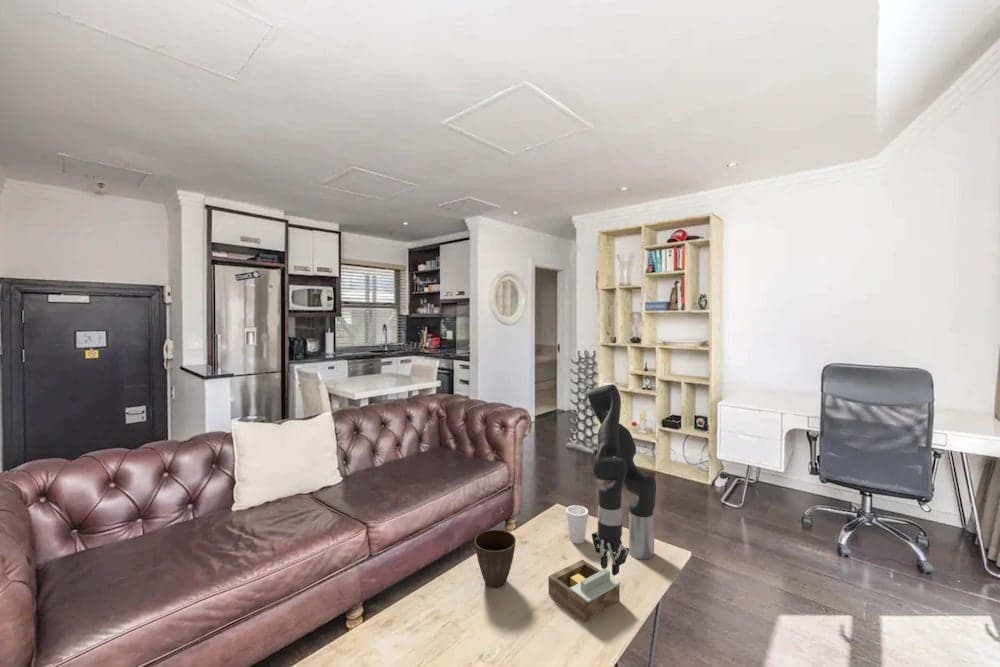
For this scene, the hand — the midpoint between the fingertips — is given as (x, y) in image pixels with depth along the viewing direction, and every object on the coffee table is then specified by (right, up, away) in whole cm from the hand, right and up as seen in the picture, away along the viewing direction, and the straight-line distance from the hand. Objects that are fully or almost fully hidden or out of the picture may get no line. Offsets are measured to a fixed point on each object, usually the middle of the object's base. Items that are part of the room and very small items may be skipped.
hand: (609, 570), depth 139 cm
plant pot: (-37, -15, +19) cm, 44 cm away
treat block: (-8, -14, +12) cm, 20 cm away
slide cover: (-3, -8, +5) cm, 10 cm away
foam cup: (-2, -13, +48) cm, 49 cm away
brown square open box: (-6, -15, +10) cm, 19 cm away
